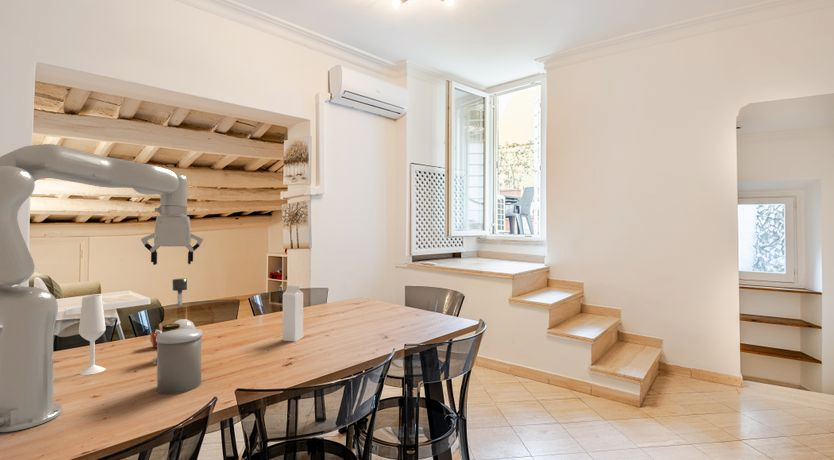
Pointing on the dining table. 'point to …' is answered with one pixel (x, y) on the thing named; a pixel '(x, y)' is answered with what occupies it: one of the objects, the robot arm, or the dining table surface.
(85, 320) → the champagne flute
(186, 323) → the potion bottle
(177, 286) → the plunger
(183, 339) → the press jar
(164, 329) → the condiment
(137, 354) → the dining table surface
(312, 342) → the dining table surface
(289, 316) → the milk
